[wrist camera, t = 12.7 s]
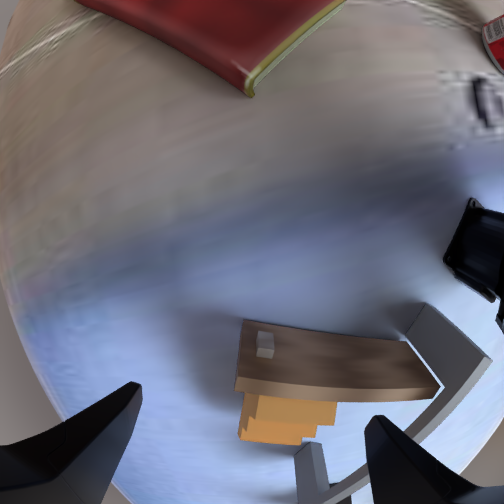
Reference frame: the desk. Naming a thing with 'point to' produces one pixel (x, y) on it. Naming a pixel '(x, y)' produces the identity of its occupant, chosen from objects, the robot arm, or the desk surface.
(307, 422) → the orange stepped block
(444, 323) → the grey u-shaped bracket
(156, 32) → the hardcover book
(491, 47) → the soda can
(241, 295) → the desk surface
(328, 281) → the desk surface
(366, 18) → the desk surface
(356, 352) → the door
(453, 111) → the desk surface
